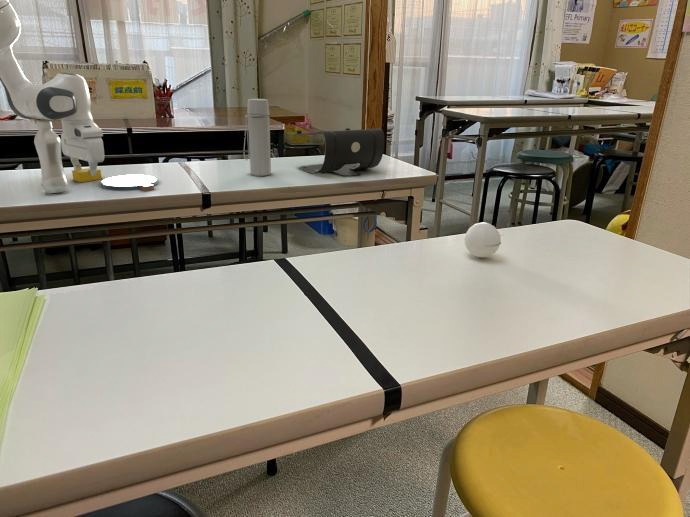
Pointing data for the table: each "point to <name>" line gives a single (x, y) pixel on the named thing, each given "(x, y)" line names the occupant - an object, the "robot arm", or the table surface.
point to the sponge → (85, 175)
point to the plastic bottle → (50, 158)
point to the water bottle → (258, 137)
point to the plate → (127, 182)
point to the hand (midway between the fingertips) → (85, 173)
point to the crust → (146, 187)
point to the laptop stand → (349, 151)
